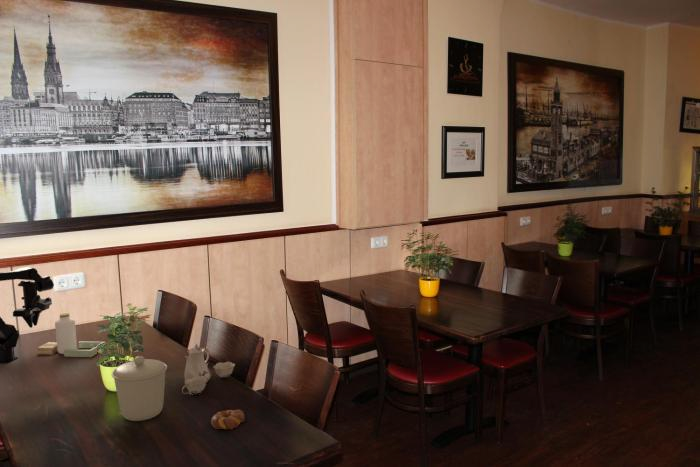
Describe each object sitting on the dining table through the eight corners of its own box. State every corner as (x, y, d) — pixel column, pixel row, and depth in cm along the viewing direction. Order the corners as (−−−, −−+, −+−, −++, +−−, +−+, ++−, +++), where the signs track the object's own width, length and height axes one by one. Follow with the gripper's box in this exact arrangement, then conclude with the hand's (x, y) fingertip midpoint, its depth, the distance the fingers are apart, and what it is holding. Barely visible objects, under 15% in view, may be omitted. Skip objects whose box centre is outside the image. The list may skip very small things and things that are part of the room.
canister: (115, 408, 204) (111, 352, 201) (168, 400, 210) (165, 345, 207) (113, 430, 187) (109, 369, 184) (171, 421, 193) (167, 361, 190)
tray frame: (91, 357, 259) (90, 350, 259) (64, 356, 260) (63, 350, 260) (106, 347, 272) (105, 341, 272) (80, 347, 273) (79, 341, 273)
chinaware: (200, 404, 210) (202, 362, 207) (163, 394, 215) (164, 353, 212) (239, 377, 236) (241, 339, 233) (204, 369, 241) (206, 331, 239)
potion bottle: (57, 350, 269) (54, 313, 267) (77, 347, 273) (74, 311, 270) (57, 355, 262) (53, 317, 259) (77, 353, 265) (74, 315, 263)
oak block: (52, 355, 264) (51, 347, 263) (38, 354, 264) (37, 347, 264) (62, 349, 271) (62, 342, 271) (48, 349, 272) (48, 342, 272)
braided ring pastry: (232, 413, 199) (231, 403, 199) (252, 421, 192) (252, 411, 192) (203, 425, 190) (203, 414, 190) (224, 434, 183) (223, 423, 183)
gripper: (33, 299, 255) (36, 332, 257) (58, 289, 274) (61, 321, 276) (10, 298, 256) (13, 332, 258) (36, 289, 275) (39, 320, 277)
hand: (33, 326), depth 267 cm, fingers open, 3 cm apart
